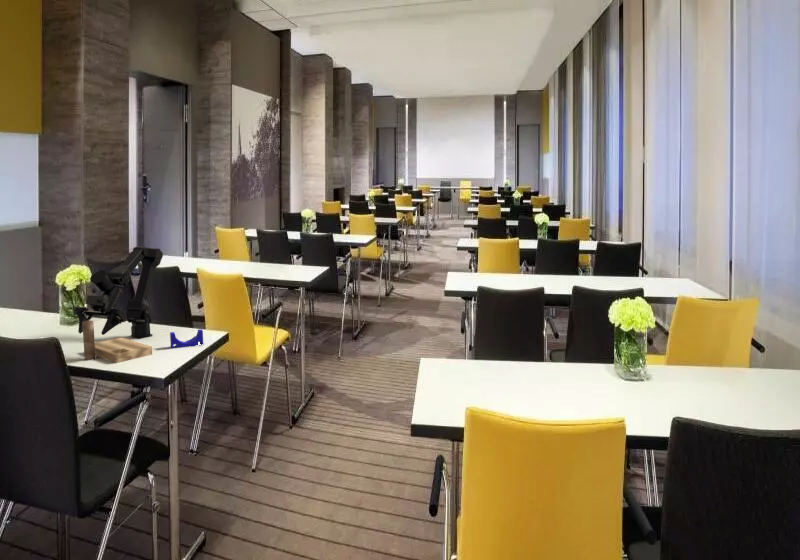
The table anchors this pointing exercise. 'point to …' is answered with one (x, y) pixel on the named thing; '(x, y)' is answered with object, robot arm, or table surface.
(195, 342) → the blue cradle bracket
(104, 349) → the stool seat
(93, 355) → the stool leg
